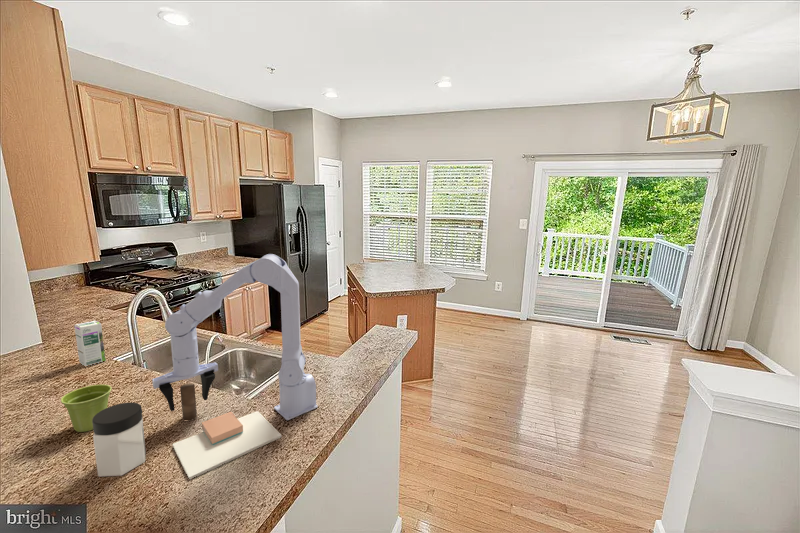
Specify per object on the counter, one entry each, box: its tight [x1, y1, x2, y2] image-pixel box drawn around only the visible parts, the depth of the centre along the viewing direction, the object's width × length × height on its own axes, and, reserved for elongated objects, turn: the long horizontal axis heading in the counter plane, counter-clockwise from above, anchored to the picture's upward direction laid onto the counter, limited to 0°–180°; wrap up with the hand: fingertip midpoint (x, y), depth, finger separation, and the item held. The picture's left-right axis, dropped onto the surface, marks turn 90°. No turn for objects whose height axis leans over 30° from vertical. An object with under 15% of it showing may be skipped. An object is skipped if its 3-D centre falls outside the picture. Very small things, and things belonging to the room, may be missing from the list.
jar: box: [92, 402, 147, 478], centre depth 73 cm, size 9×8×12 cm
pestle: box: [179, 382, 198, 421], centre depth 90 cm, size 3×3×9 cm
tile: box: [201, 411, 243, 445], centre depth 85 cm, size 7×2×8 cm
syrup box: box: [74, 320, 107, 367], centre depth 120 cm, size 6×6×14 cm
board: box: [172, 410, 282, 480], centre depth 82 cm, size 20×14×1 cm
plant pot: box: [60, 384, 113, 433], centre depth 86 cm, size 9×9×9 cm
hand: (189, 403), depth 90 cm, fingers open, 7 cm apart
